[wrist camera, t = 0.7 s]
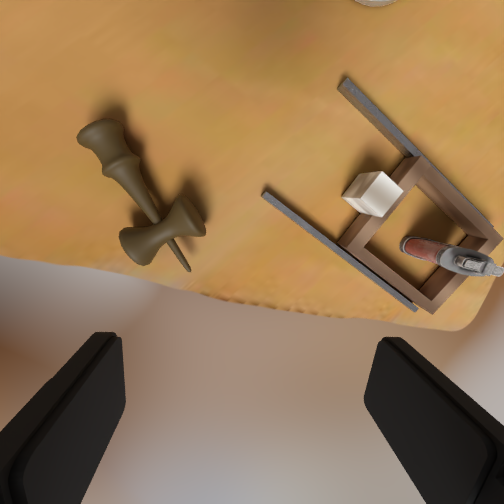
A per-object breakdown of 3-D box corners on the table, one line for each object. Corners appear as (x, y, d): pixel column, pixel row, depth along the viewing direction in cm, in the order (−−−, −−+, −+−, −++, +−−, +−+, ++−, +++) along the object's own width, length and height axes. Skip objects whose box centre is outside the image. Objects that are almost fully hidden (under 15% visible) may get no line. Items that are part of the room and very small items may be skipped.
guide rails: (341, 82, 30) (347, 77, 28) (483, 225, 37) (493, 226, 36) (260, 196, 33) (262, 197, 31) (408, 308, 40) (414, 312, 39)
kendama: (143, 115, 29) (222, 250, 34) (79, 153, 30) (166, 280, 35) (120, 95, 23) (219, 261, 28) (41, 143, 24) (152, 297, 29)
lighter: (446, 243, 38) (522, 262, 28) (437, 263, 38) (508, 288, 29) (404, 232, 36) (467, 248, 27) (395, 252, 37) (454, 275, 27)
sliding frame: (385, 139, 32) (413, 131, 27) (482, 234, 37) (519, 241, 33) (317, 228, 34) (331, 234, 30) (417, 305, 40) (443, 321, 35)
